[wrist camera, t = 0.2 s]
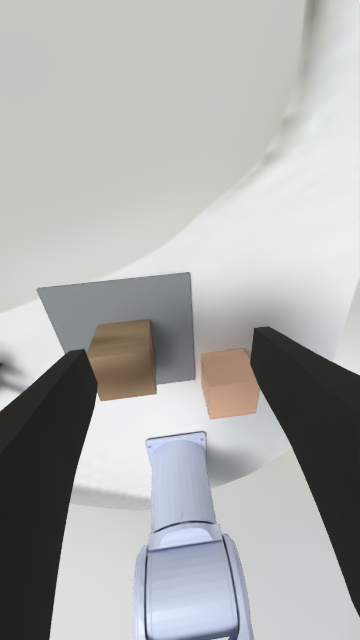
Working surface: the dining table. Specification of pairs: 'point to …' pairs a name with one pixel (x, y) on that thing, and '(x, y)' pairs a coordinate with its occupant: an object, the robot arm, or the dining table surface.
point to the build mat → (129, 316)
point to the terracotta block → (228, 383)
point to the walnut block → (123, 359)
